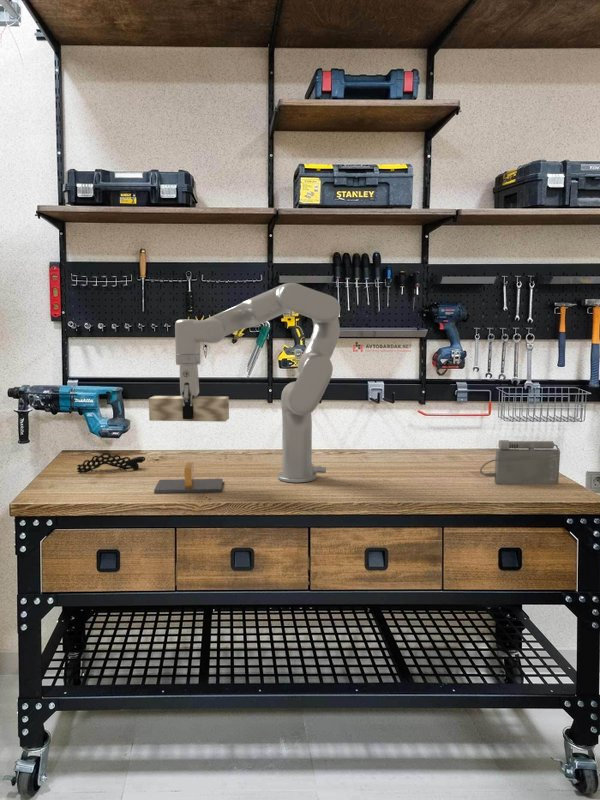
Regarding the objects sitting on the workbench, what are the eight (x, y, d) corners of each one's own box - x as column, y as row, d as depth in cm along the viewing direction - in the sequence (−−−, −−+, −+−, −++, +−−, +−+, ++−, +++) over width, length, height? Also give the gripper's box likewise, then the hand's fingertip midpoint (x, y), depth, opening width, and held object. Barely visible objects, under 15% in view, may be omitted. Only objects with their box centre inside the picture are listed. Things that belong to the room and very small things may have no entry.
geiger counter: (556, 438, 217) (478, 438, 217) (564, 442, 211) (484, 442, 211) (554, 481, 219) (477, 481, 219) (562, 486, 212) (482, 486, 212)
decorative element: (76, 474, 227) (76, 457, 226) (77, 470, 232) (77, 454, 231) (145, 470, 233) (145, 454, 232) (145, 467, 237) (144, 450, 237)
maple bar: (229, 418, 214) (228, 396, 213) (225, 421, 208) (225, 399, 207) (154, 417, 216) (154, 395, 215) (149, 420, 211) (148, 398, 210)
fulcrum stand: (222, 481, 217) (222, 460, 216) (221, 492, 205) (220, 469, 204) (159, 482, 216) (159, 461, 215) (154, 493, 204) (153, 470, 203)
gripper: (197, 362, 201) (198, 421, 204) (203, 357, 218) (204, 412, 221) (171, 362, 201) (173, 422, 203) (179, 357, 218) (181, 412, 220)
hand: (189, 416), depth 212 cm, fingers closed on maple bar, 6 cm apart
